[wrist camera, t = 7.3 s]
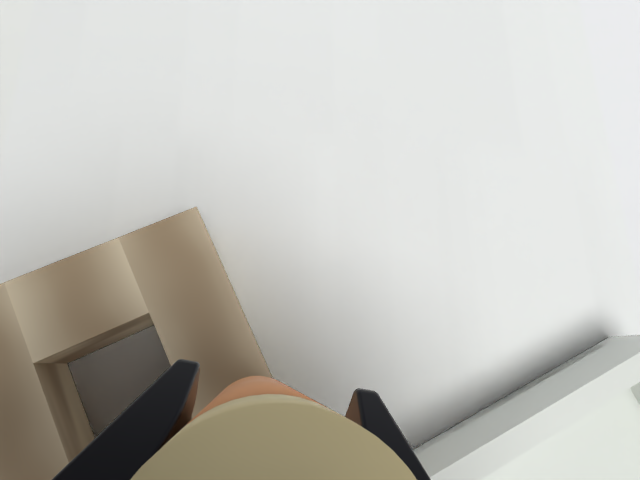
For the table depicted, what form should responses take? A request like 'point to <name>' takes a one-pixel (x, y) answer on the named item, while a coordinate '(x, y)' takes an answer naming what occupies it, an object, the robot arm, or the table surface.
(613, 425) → the tray
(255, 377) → the pin
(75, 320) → the hitch block
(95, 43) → the table surface
